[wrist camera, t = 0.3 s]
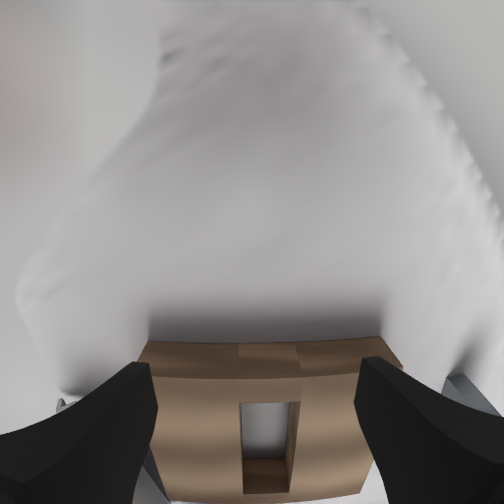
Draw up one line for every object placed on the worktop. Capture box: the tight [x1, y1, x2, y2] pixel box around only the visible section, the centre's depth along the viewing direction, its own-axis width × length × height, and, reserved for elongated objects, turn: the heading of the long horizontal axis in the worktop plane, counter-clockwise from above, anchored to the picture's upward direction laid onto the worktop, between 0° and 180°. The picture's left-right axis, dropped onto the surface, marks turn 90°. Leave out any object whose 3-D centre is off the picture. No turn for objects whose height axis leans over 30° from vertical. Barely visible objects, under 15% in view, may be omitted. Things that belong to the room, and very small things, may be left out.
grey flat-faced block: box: [441, 373, 502, 417], centre depth 20 cm, size 8×2×7 cm, turn 0°
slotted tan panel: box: [137, 336, 403, 504], centre depth 21 cm, size 14×16×4 cm
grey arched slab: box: [56, 398, 170, 504], centre depth 20 cm, size 17×5×10 cm, turn 11°
